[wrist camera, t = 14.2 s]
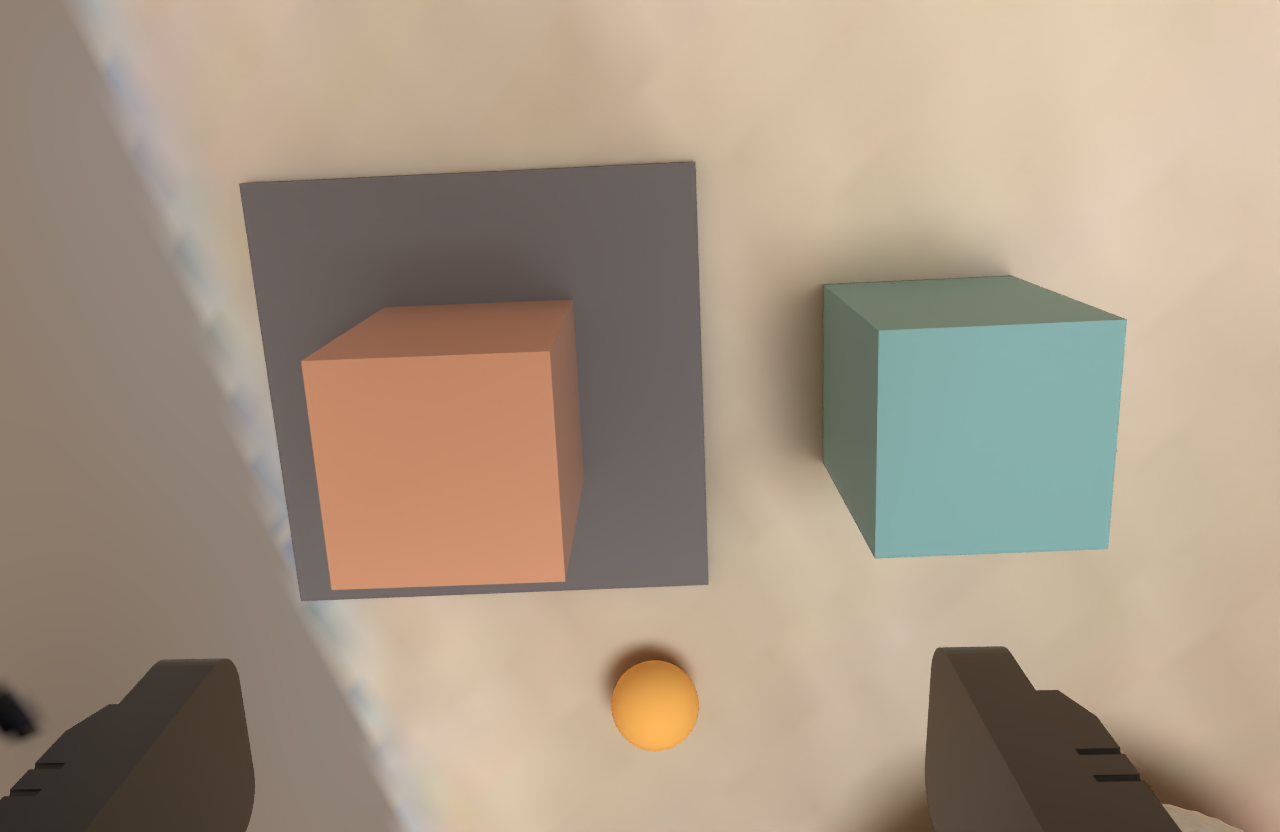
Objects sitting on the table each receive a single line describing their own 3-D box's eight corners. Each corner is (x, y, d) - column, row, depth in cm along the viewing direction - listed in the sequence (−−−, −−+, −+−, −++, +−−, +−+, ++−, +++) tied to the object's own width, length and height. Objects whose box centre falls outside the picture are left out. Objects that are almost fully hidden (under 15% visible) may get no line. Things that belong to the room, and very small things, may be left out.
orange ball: (610, 646, 36) (607, 690, 33) (695, 642, 36) (699, 687, 33) (615, 720, 37) (612, 771, 34) (697, 717, 37) (702, 767, 34)
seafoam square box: (823, 284, 32) (878, 330, 25) (1012, 276, 32) (1126, 319, 25) (823, 462, 34) (875, 558, 26) (1002, 454, 34) (1107, 549, 26)
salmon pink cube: (384, 307, 32) (301, 361, 24) (573, 299, 32) (549, 351, 24) (403, 486, 34) (331, 590, 26) (584, 479, 34) (565, 581, 26)
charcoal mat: (246, 182, 32) (239, 184, 31) (694, 161, 31) (695, 162, 31) (306, 593, 35) (301, 601, 35) (707, 577, 35) (708, 584, 35)
